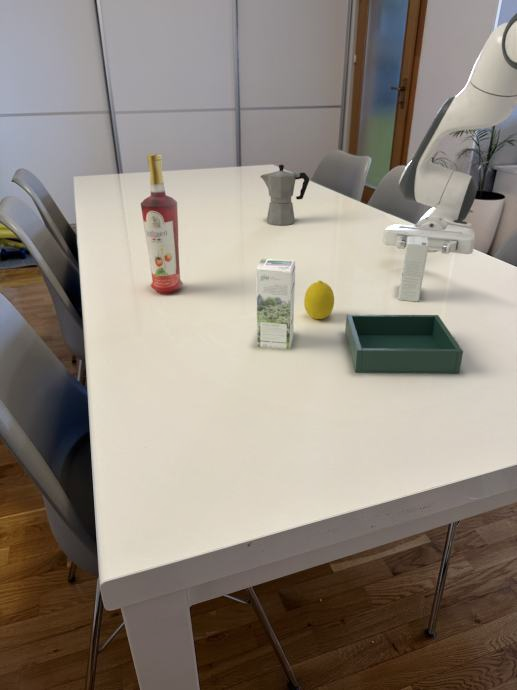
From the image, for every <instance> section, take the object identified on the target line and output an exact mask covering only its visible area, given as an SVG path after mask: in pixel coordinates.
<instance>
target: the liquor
mask: <svg viewBox="0 0 517 690" xmlns="http://www.w3.org/2000/svg"><path fill="white" fill-rule="evenodd" d="M162 157H163V156H162V154H157V153H155V154H153V153H151V154H147V164H148V168H149V172H150V175H149V177H150V196H148V197H146V198H144V199H143V200H142V201H141V202H140V208H141V215H142V223H143V228H144V234H145V239H146V246H147V251H148V252H147V253H148V258H149V259H148V260H149V265H150V273H151V281H152V282H151V284H150V287H151V288H152V289H153V290H154V291H155V292H157V293H158V294H162V295H169V294H174V293H176V292H178V290H179V289H180V288H181V287H182V286H183V284H184V283H183V281H182V280H181V268H180V250H179V249H180V247H179V215H178V212H179V211H178V201H177V200H176V199H174V198H173V197H171V196H170V195H167V194H166V188H165V183H164V176H163V161H162V160H163V158H162Z"/></svg>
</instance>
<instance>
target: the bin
mask: <svg viewBox="0 0 517 690" xmlns="http://www.w3.org/2000/svg"><path fill="white" fill-rule="evenodd" d="M345 318H346V319H345V329H344V330H345V332H344V333H345V334H344V336H345V339H346V343H347V347H348V351H349V355H350V358H351V363H352V366H353V369H354V373H355V374H427V375H428V374H429V375H432V374H434V375H435V374H437V375H441V374H442V375H445V374H446V375H459V374H460V370H461V366H462V360H463V355H464V350H463V349H462V348H461V346H460V345H459V343H458V342H457V340H456V338H454V336H453V334H452V332H451V331H450V330H449V328H448V326H446V325H445V323H444V322H443V320H442V318H441V317H440V316H439V315H438V314H349V313H348V314H346V317H345Z"/></svg>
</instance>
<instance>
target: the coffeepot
mask: <svg viewBox="0 0 517 690" xmlns="http://www.w3.org/2000/svg"><path fill="white" fill-rule="evenodd" d="M284 167H285V165H284V164H279V165H278V170H277V171H274V172H268V173H264V174H260V179H262V180H263V182H264V184H265V185H266V188H267V190H268V197H270V202H269V203H268V204H269V205H268V211H267V216H266V223H267V224H268V225H271V226H292V225H293V224H294V223H295V222H296V218H295V212H294V204H293V202H292V197H293V196H294V192H295V185H296V180H303V181H302V187H301V189H300V192H299V193H300V194H299V195H298V196H295V198H296V200H303V198H304V196H305V193H306V190H307V189H308V185H309V183H310V177H309V176H308V175H307V173H306V172H289V171H285V170H284V169H285V168H284Z"/></svg>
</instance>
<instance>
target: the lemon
mask: <svg viewBox="0 0 517 690" xmlns="http://www.w3.org/2000/svg"><path fill="white" fill-rule="evenodd" d="M303 302H304V303H303V305H304V310H305V311H306V314H307V315H308V316H309V317H310V318H312V319H315V320H323V319H326V318H327V317H329V316H330V315H331V314H332V313H333V309H334V307H335V294H334V291H333V289H332V287H331V286H330V285H329V284H328V283H326V282H323V281H322V280H318V281H316V282H313V283H312V284H310V285H309V286H308V288H307V289H306V291H305V293H304V301H303Z"/></svg>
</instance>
